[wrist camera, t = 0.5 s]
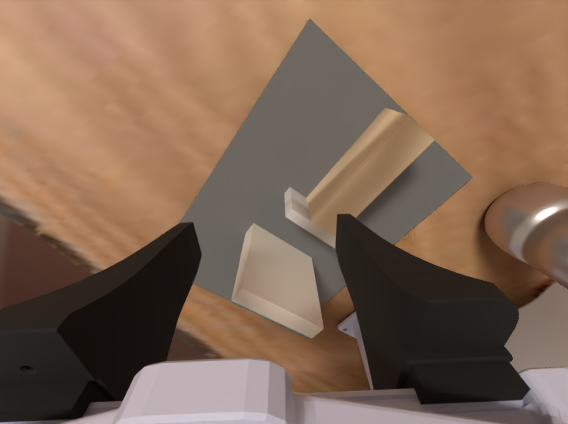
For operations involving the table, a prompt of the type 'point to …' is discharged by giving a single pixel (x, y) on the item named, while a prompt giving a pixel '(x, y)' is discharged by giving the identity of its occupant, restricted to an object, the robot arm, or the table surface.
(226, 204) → the mat
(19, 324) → the robot arm
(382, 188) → the tan upright post
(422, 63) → the table surface
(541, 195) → the plastic bottle
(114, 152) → the table surface
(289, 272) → the tile
